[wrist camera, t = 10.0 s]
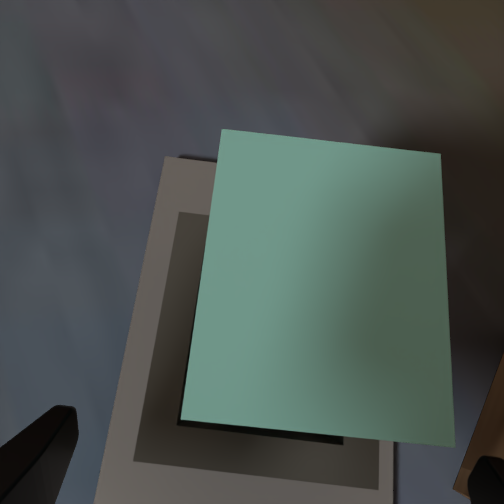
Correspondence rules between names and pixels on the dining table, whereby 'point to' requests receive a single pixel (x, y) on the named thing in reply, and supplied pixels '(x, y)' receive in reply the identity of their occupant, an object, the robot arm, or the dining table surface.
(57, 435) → the robot arm
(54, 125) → the dining table surface
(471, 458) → the holster
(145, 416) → the port board
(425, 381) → the plug
